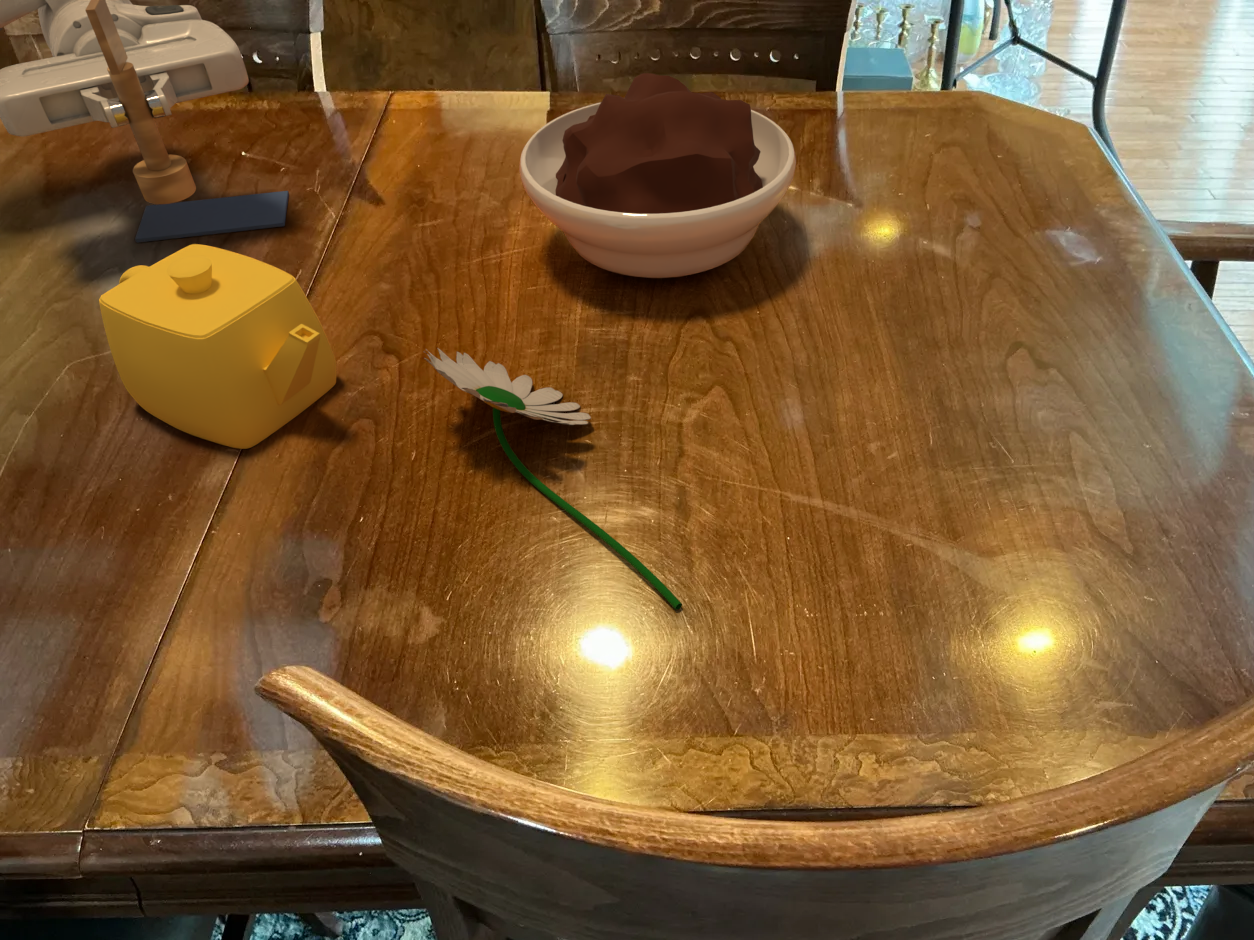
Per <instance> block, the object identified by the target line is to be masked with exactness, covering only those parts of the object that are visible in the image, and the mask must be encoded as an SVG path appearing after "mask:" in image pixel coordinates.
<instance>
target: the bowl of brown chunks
mask: <svg viewBox="0 0 1254 940" xmlns="http://www.w3.org/2000/svg"><path fill="white" fill-rule="evenodd" d="M796 165H797V155H796V151H795V147H794V144H793V142H792V140H791V138H790V137H789V136H788V134H787V133H786V132H785V130H784V129H783V128H782V127H781V126H779V124H777V123H776V122H775V121H774V120H772V119H771V118H769V117H767V116H766V115H763V114H762V113H760V112H758V111H756V110H753V109H752V107H751V104H749V103H747V102H746V101H744V100H742V99H736V100H735V99H723V98H721V97H720V96H719V95H717V94H716V93H714V92H713V91H709V92H692V91H691V90H690V88H688V87H687V85H685V84H684V83H683V82H682V81H680V80H679V79H678V78H675V77H673V76H670V75H665V74H663V75H661V74H656V73H650V72H649V73H648V72H644V73H642V72H641V73H640V74H638V75H637V76H635V77H634V78H633V80H632V81H631V84H630V85H629V87H628V89H627V91H626V94H625V96H623V97H622V96H621V95H616V94H611V93H610V94H609V93H606V94H605V95H604V97H603V98H602V100H601V101H599V102H596V103H592V104H588V105H585V106H582V107H579V108H576V109H574V110H571V111H568V112H566V113H564V114H562V115H560V116H558V117H556V118H554V119H552V120H550V121H549V122H547V123H546V124H544V125H543V126H541V127H540V128H539V129H538V130H537V131H536V132H535V133H533V134H532V136H531V137H530V138H529V139H528V140H527V142H526V144H525V145H524V147H523V148H522V151H521V154H520V158H519V163H518V170H519V175H520V179H521V180H520V181H521V185H522V187H523V189H524V191H525V193H526V194H527V196H528V198H529V199H530V200H531V202H532V203H533V205H534V206H535V207H536V209H538V210H539V212H541V214H542V215H543V216H544V217H545V218H546V219H547V220H548V221H549V222H550V223H552V224H553V225H554V226H556V227H557V228H558V229H559V230H561V232H562V233H563V235H564V236H565V238H566V240H567V241H568V242H569V244H570V245H571V246H572V248H573V249H574V250H575V252H576V253H577V254H578V255H579V256H580V257H581V258H583V260H585V261H587V262H588V263H590V264H591V265H594V266H596V267H598V268H601V269H603V270H605V271H608V272H612V273H615V274H619V275H623V276H629V277H635V278H643V279H645V278H646V279H647V278H648V279H671V278H680V277H685V276H691V275H692V276H693V275H696V274H699V273H702V272H703V273H704V272H706V271H709V270H712V269H715V268H718V267H720V266H722V265H724V264H726V263H728V262H730V261H731V260H733V259H735V258H736V257H737V256H739V255H740V254H742V252H743V251H745V249H747V247H748V246H749V244H750V243H751V241H752V240H753V238H754V236H755V235H756V233H757V231H758V229H759V226H760V224H761V223H762V222H763V221H764V220H766V218H767V217H768V216H769V215H770V214H771V213H772V212H773V211H774V210H775V209H776V207H777V206H778V205H779V204H780V202H782V199H784V197H785V195H786V194H787V192H788V190H789V188H790V186H791V185H792V182H793V180H794V178H795V173H796Z"/></svg>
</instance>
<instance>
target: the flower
mask: <svg viewBox="0 0 1254 940" xmlns="http://www.w3.org/2000/svg"><path fill="white" fill-rule="evenodd" d="M436 349H437V350H438V353H439V357H440V359H439V358H438V357H436V356H435V355H433V354H432V353H431V352H430V351H429V350H428V349H426V351H424V353H425V354H426V355H427V356H428V358H429V359H428V358H426V357H423V359H424V360H425V361H426V362H427V363H428V364H429V365H431V366H432V367H433V369H435V370H436V372H437V373H438V374H439V375H441V376H442V377H443V378H444V379H445V380H447V381H449V382H450V383H451V384H453V385H454V386H455V387H457V389H460V391H463V392H465V393H466V394H467V393H468V394H470V395H472V396H474V397H476V399H479V400H481V401H482V402H484V404H487V405H488V406H490V407H491V408H492V420H493V427H494V431H495V434H496V437H497V439H498V442H499V444H500V446H501V448H502V449H503V451H504V453H505V455H506V456H507V458H508V460H509V461H510V462H511V463H512V465H513V466H514V467H515V468H516V469H517V470H518V472H519V473H520V474H521V475H522V476H523V477H524V478H525V479H526V480H527V481H528V482H529V483H530V484H531V485H533V486H534V487H535V488H536V489H537V490H538V491H539V492H541V494H543V495H545V496H546V497H547V498H548V499H549V500H550V501H552V502H553V503H554V504H556V505H557V506H559V507H560V508H561V509H562V510H563V511H565V512H566V513H568V514H569V515H570V516H571V517H573V518H574V519H575V520H577V521H578V522H579V523H581V524H582V525H583V526H584V527H586V528H587V529H588V530H589V531H591V532H592V533H593V534H594V535H596V536H597V537H598V538H599V539H601V540H602V541H603V542H604V543H606V544H607V545H608V546H609V547H611V549H613V550H614V551H615V552H616V553H618V554H619V556H621V557H622V558H623V559H624V560H625V561H627V562H628V563H629V564H630V565H631V566H632V567H633V568H634V569H635V570H636V571H638V573H639V574H641V575H642V577H644V578H645V579H646V580H647V581H648V582H649V584H650V585H652V586H653V588H655V589H656V591H658V592H659V594H660V595H662V597H663V598H664V599H665V600H666V601H667V602H668V603H669V604H670V605H671V606H672V607H673V609H674V610H675V611H678V610H679V609H680V608H682V606H683V603H682V602H681V601H680V600H679V599H678V598H677V597H676V596H675V594H674V593H673V592H672V591H671V589H669V588H668V587H667V586H666V585H665V584H664V583H663V582H662V581H661V580H660V579H659V578H658V577H657V575H655V574H654V573H653V572H652V571H651V570H650V569H649V568H648V567H647V566H645V565H644V564H643V563H642V562H641V560H639V559H638V558H637V557H636V556H635V555H634V554H632V553H631V552H630V551H629V550H628V549H627V548H625V546H623V545H622V544H621V543H620V542H618V541H617V540H616V539H615V538H614V537H612V536H611V535H610V534H609V533H607V532H606V531H605V530H604V529H603V528H601V527H600V526H599V525H597V524H596V523H595V522H594V521H592V520H591V519H590V518H588V517H587V516H586V515H585V514H583V513H582V512H581V511H579V510H578V509H577V508H575V507H574V506H573V505H571V504H570V503H569V502H567V501H566V500H564V499H563V498H562V497H560V496H559V495H558V494H557V493H556V492H555V491H553V490H552V489H551V488H549V487H548V486H547V485H546V484H545V483H543V482H542V481H541V480H540V479H538V478H537V476H536V475H534V474H533V473H532V472H531V471H530V470H529V468H527V467H526V466H525V465H524V464H523V462H522V461H521V459H520V458H518V456H517V455H516V453H515V452H514V450H513V448H512V447H511V445H510V443H509V441H508V440H507V437H506V435H505V432H504V428H503V425H502V419H501V411H502V412H505V413H511V414H513V413H517V414H520V415H522V416H524V417H527V418H529V419H533V420H542V421H545V422H549V423H553V424H558V425H565V426H574V425H577V426H584V425H586V426H587V425H588V424H589V421H588V420H591V419H592V417H591V415H590V414H589V413H587V412H581V411H580V412H572V411H578V410H579V409H580V408H581V405H580V404H579V403H578V402H576V401H575V402H573V401H571V402H570V401H569V402H561V403H556V404H555V402H558V401H560V400H562V398H563V397H564V393H562V392H561V391H560V390H557V389H554V388H553V387H551V386H548V387H542V388H539V389H536V390H535V391H532V388H533V378H532V377H531V376H529V375H528V374H523V375H520V376H516V378H515V379H514V380H512V381H511V378H510V376H509V374H508V371H507V369H506V367H505V366H504V365H503V364H502V363H499V362H498V363H496V362H493V361H491V360H489V361H487V363H486V364H485V365H484V367H483V369H482V368H481V367H480V365H478V363H476V361H475V360H474V359H473V357H471V356H470V355H469V354H468V353H466V352H463V354H462V353H461V352H459V351H456V357H455V360H456V361H454V360H453V359H451V358H450V357H449V356H448V355H447V354H446V353H445V352H444V351H443V350H441V349H440V348H439V347H436ZM427 352H428V353H427ZM531 391H532V392H531ZM552 403H553V404H552ZM564 412H565V413H564ZM566 412H567V413H566Z"/></svg>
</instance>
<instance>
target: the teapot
mask: <svg viewBox="0 0 1254 940" xmlns="http://www.w3.org/2000/svg"><path fill="white" fill-rule="evenodd" d="M98 304H99V310H100V314H101V319H102V323H103V327H104V331H105V335H106V340H107V343H108V346H109V350H110V353H111V357H112V359H113V363H114V365H115V368H116V370H117V373H118V376H119V378H120V380H121V382H122V385H123V387H124V388H125V390H126V391H127V393H128V394H129V395H130V396H131V398H133V400H134V401H135V402H136V403H137V404H138V405H139V406H140V407H141V408H142V409H143V410H144V411H145V412H147V413H148V414H150V415H152V416H153V417H155V418H156V419H158V420H160V421H162V422H164V423H166V424H167V425H168V426H171V427H173V428H175V429H177V430H179V431H180V432H183V433H186V434H188V435H190V436H194V437H197V438H200V439H202V440H206V441H208V442H212V443H215V444H218V445H222V446H226V447H229V448H233V449H240V450H246V449H251V448H253V447H254V446H255V447H256V445H258V444H260V443H261V442H262V441H264V440H266V439H267V438H268V437H270V436H271V435H273V434H274V433H276V432H277V431H278V430H280V429H281V428H283V427H284V426H285V425H287V424H288V423H289V422H291V421H292V420H293V419H295V418H296V417H297V416H299V415H301V413H303V412H304V411H305V410H307V409H308V408H309V407H310V406H312V405H313V404H314V403H315V402H317V401H318V400H319V399H321V398H322V397H323V396H324V395H326V394H327V393H328V392H329V391H330V390H332V389H333V387H334V386H335V385H336V383H337V376H338V375H337V371H338V370H337V369H338V368H337V367H338V366H337V360H336V359H337V358H336V357H335V353H334V351H333V348H332V345H331V343H330V340H329V338H328V336H327V333H326V331H325V329H324V327H323V325H322V322H321V321H320V319H319V316H318V315H317V313H316V311H315V309H314V307H313V306H312V304H311V302H310V301H309V298H308V297H307V296H306V294H305V292H304V290H303V289H302V287H301V286H300V283H299V281H297V279H296V278H295V276H293V275H292V274H291V273H288V272H287V271H285V270H283V269H280V268H278V267H276V266H274V265H271V264H270V263H268V262H267V263H266V262H264V261H262V260H258V259H256V258H253V257H250V256H248V255H245V254H241V253H237V252H234V251H231V250H228V249H223V248H220V247H217V246H211V245H206V244H200V243H199V244H198V243H192V244H189V245H187V246H185V247H183V248H181V249H179V250H177V251H175V252H174V253H171V254H170V255H167V256H166V257H164V258H163V259H160V260H159V261H157V262H155V263H154V264H152V265H150V266H148V265H140V264H139V265H135V266H132V267H129V268H127V270H125V271H124V272H123V273H122V275H121V276H120V278H119V280H118V284H117V285H116V286H114V287H112V288H111V289H109V290H107V291H106V292H104V293H103V294H101V295H100V297H99V299H98Z"/></svg>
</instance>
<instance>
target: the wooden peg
mask: <svg viewBox="0 0 1254 940" xmlns="http://www.w3.org/2000/svg"><path fill="white" fill-rule="evenodd" d="M85 11H86V13H87V16H88V18H89V20H90V23H91V25H92V28H93V30H94V33H95V35H96V38H97V40H98V43H99V45H100V48H101V50H102V53H103V55H104V57H105V60H106V62H107V65H108V68H107V70H108V73H109V75H110V78H111V80H112V83H113V85H114V88H115V90H116V93H117V95H118V97H119V100H120V102H121V103H122V105H123V108H124V110H125V114H126V116H127V118H128V120H129V123H130V124H129V127H130V129H131V131H132V135H133V137H134V139H135V142H136V144H137V147H138V149H139V151H140V154H141V156H142V160H141V161H139V162H137V163H136V164H135V165H134V166H133V168H132V173H133V175H134V178H135V181H136V182H137V185H138V188H139V190H140V192H141V195H142V198H143V199H144V200H145V201H146V202H147V203H150V204H151V205H158V204H170V203H177V202H183V201H185V200H186V199H188V198H190V197H191V196H193V195H194V193H195V192H196V190H197V186H196V183H195V181H194V178H193V176H192V172H191V170H190V168H189V165H188V163H187V162H188V161H187V160H186V159H185V157H182V155H177V154H168V150H167V148H166V145H165V143H164V141H163V137H162V136H161V132H160V130H159V127H158V125H157V123H156V120H155V118H154V117H153V115H152V112H151V110H150V107H149V105H148V102H147V99H146V96H145V94H144V91H143V89H142V86H141V84H140V81H139V78H138V76H137V73H136V71H135V68H134V66H133V64H132V63H130V62H126V60H127V58H128V57H127V54H126V52H125V49H124V47H123V44H122V42H121V39H120V36H119V34H118V31H117V29H116V26H115V24H114V21H113V19H112V16H111V13H110V11H109V8H108V6H107V3H106V1H105V0H91V1H90V3H89V4H88V6H87V8H86V10H85Z"/></svg>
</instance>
